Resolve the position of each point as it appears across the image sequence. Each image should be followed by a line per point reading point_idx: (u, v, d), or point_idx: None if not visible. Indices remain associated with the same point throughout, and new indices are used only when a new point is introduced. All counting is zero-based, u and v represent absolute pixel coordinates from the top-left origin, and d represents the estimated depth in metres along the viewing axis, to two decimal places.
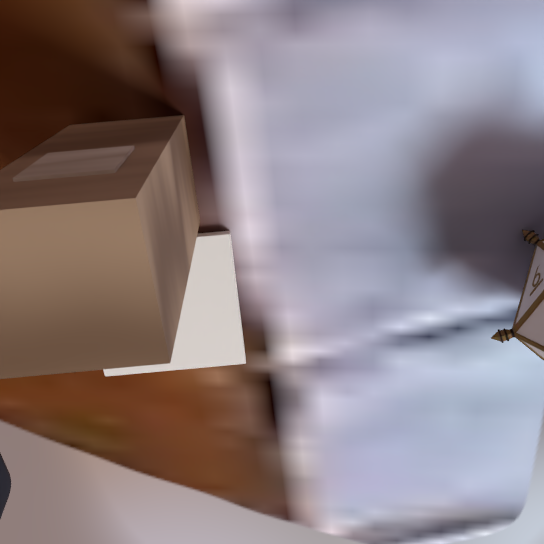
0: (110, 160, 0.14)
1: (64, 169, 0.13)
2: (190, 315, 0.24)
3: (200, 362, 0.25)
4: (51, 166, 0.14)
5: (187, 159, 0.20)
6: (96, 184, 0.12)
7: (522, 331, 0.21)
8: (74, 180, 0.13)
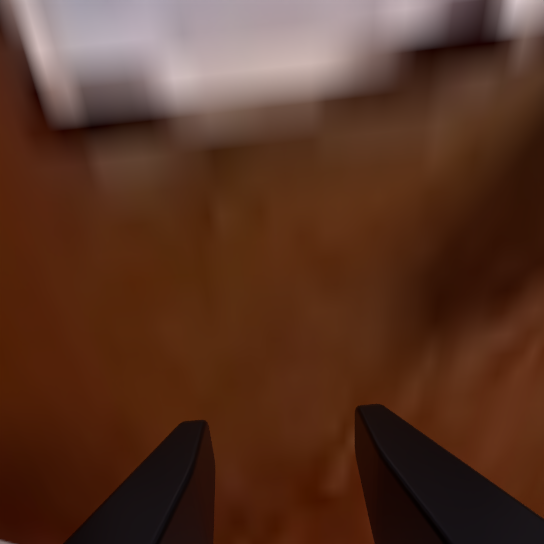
0: None
1: None
2: None
3: None
4: None
5: None
6: None
7: None
8: None
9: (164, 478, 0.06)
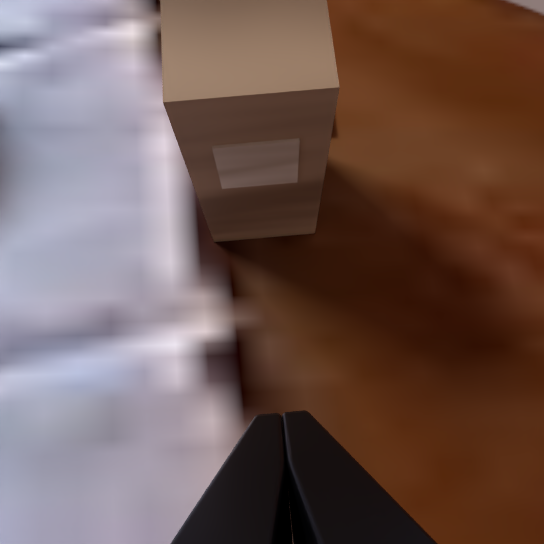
0: (226, 164, 0.16)
1: (260, 152, 0.15)
2: None
3: None
4: (276, 158, 0.16)
5: None
6: (215, 127, 0.14)
7: None
8: (242, 135, 0.14)
9: (259, 470, 0.06)
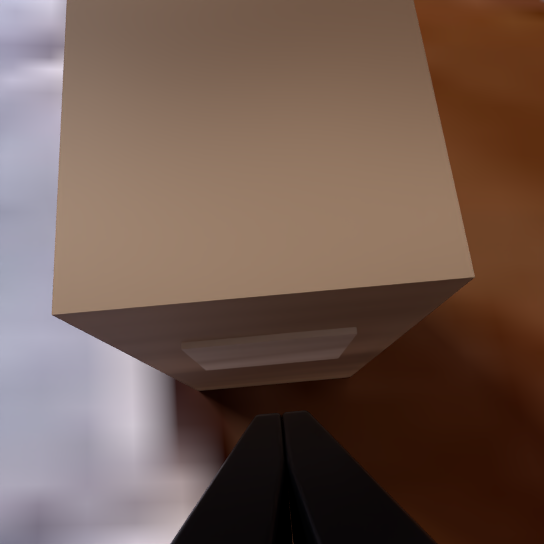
0: (212, 356, 0.08)
1: (277, 345, 0.08)
2: None
3: None
4: (307, 347, 0.08)
5: None
6: (185, 328, 0.07)
7: None
8: (242, 331, 0.07)
9: (259, 469, 0.06)
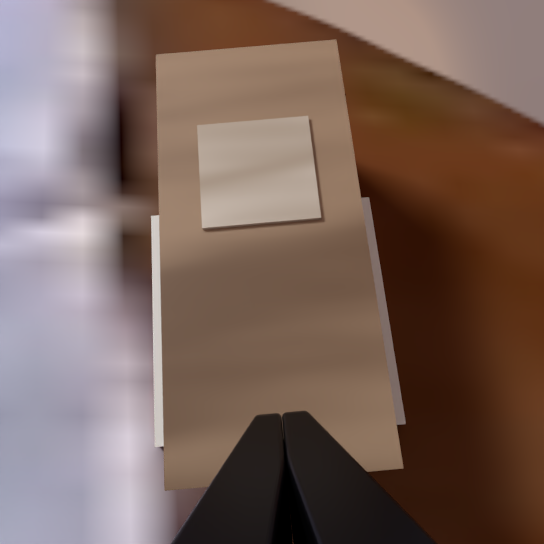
0: (213, 161, 0.11)
1: (259, 137, 0.12)
2: None
3: None
4: (282, 151, 0.11)
5: None
6: (205, 94, 0.12)
7: None
8: (236, 109, 0.12)
9: (259, 469, 0.06)
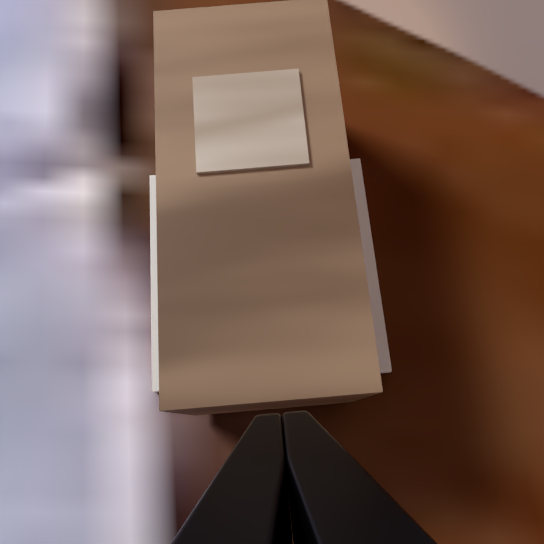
0: (207, 110, 0.12)
1: (251, 88, 0.12)
2: None
3: None
4: (273, 102, 0.12)
5: None
6: (201, 48, 0.13)
7: None
8: (229, 63, 0.12)
9: (259, 469, 0.06)
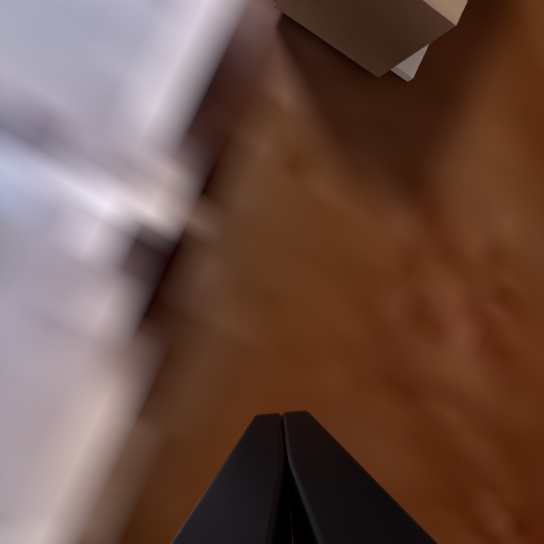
0: None
1: None
2: None
3: None
4: None
5: None
6: None
7: None
8: None
9: (259, 469, 0.06)
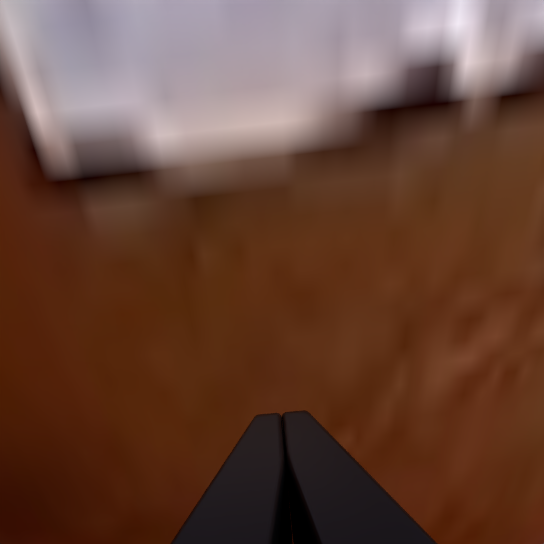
0: None
1: None
2: None
3: None
4: None
5: None
6: None
7: None
8: None
9: (259, 469, 0.06)
